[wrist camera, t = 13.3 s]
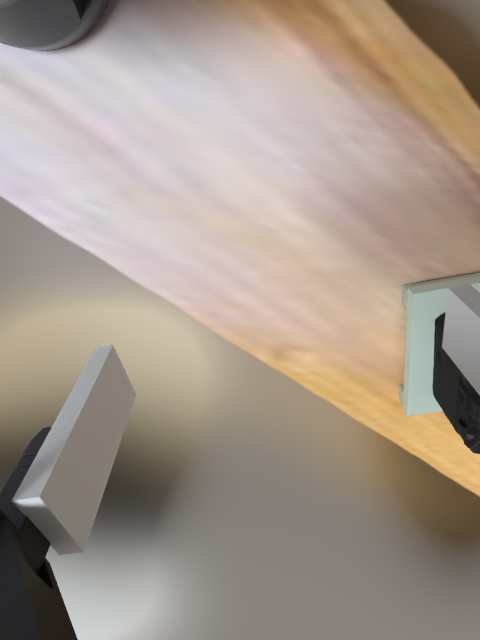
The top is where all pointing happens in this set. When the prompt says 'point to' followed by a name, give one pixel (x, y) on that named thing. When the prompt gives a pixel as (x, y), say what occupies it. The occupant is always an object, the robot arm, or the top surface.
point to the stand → (425, 339)
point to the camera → (455, 393)
